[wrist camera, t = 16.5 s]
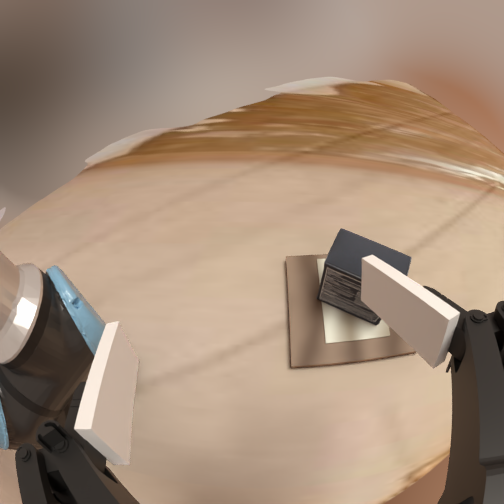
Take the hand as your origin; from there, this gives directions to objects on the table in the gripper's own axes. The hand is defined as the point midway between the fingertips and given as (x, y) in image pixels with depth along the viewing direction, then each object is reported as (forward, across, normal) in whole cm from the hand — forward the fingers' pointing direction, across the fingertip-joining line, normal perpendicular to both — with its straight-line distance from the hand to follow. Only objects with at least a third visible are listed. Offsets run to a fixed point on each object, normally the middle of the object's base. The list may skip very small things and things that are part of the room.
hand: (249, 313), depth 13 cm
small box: (+19, +18, -16) cm, 31 cm away
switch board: (+19, +18, -18) cm, 32 cm away
